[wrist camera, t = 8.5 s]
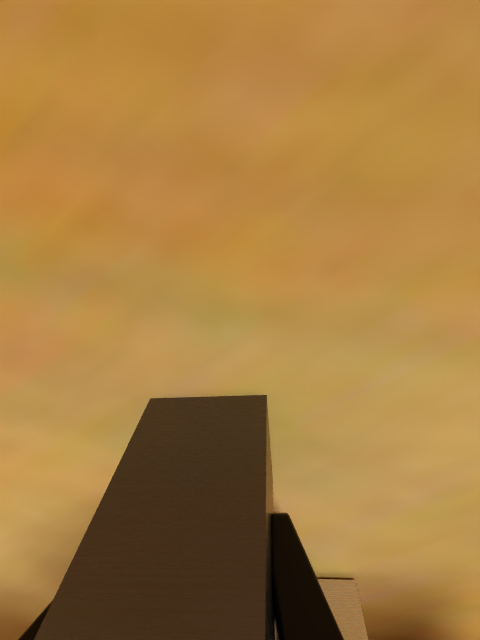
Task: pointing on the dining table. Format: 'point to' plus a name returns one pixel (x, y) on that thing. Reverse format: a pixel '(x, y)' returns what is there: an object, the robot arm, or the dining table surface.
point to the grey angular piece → (185, 535)
